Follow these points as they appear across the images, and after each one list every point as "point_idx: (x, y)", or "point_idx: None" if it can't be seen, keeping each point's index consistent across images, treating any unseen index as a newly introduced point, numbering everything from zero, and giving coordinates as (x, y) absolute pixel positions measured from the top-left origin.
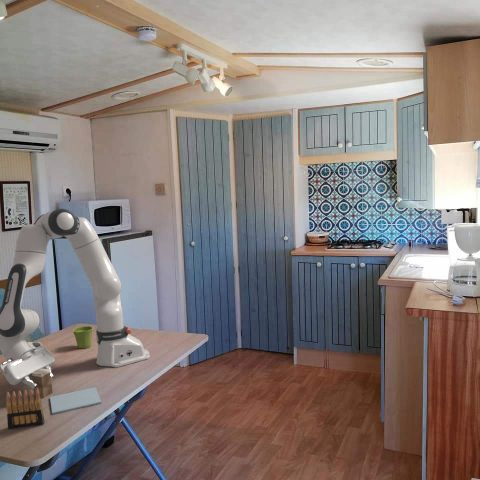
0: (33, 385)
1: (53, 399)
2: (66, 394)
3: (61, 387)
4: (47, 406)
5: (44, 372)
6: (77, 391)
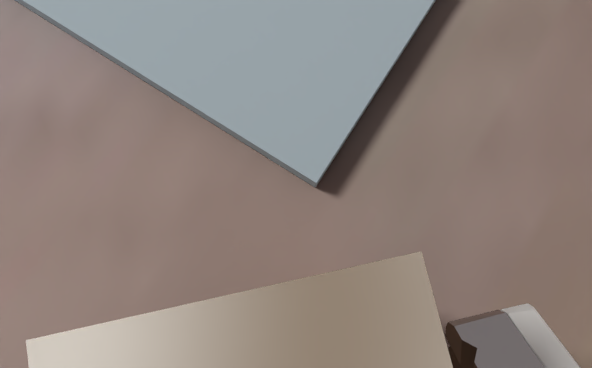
0: (540, 331)
1: (341, 79)
2: (171, 56)
3: (5, 361)
4: (456, 38)
5: (284, 282)
6: (52, 7)
